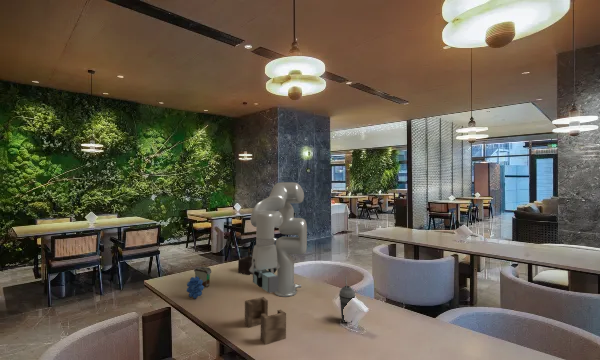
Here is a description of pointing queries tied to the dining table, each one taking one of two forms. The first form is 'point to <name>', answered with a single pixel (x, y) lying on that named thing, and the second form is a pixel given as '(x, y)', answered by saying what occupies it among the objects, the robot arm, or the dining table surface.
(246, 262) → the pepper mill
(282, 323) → the notched wooden uprights
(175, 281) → the dining table surface
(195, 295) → the grapes
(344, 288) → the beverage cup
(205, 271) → the food container
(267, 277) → the rail
